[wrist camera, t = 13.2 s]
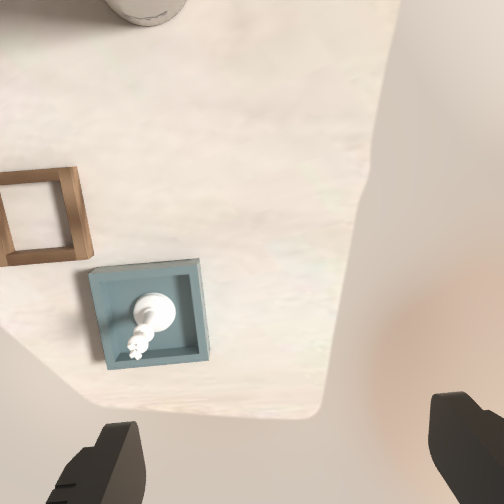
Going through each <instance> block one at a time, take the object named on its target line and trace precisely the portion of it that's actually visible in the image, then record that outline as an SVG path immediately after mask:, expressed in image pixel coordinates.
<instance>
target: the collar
mask: <svg viewBox="0 0 504 504" xmlns="http://www.w3.org/2000/svg"><path fill="white" fill-rule="evenodd" d="M58 180H60V183H61V188H62V193H63V197H64V202H65V207H66V212H67V216H68V221H69V226H70V230H71V235H72V240H73V245H74V246H70V247H58V248H46V249H35V250H23V251H15V249H14V245H13V241H12V237H11V233H10V229H9V226H8V222H7V218H6V214H5V210H4V206H3V202H2V198H1V194H0V267H5V266H17V265H28V264H40V263H51V262H63V261H75V260H86V259H89V258H91V257H92V256H94V251H93V246H92V241H91V236H90V231H89V226H88V221H87V216H86V211H85V206H84V201H83V196H82V191H81V185H80V180H79V175H78V170H77V167H65V168H52V169H39V170H27V171H14V172H2V173H0V185H8V184H20V183H33V182H45V181H58Z"/></svg>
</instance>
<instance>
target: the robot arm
mask: <svg viewBox="0 0 504 504" xmlns="http://www.w3.org/2000/svg"><path fill="white" fill-rule="evenodd" d="M105 1H106V2H107V3H108V5H109V6H110V7H111V8H112V10H113V11H114V12H116V13H117V14H118V15H119V16H120V17H122V18H123V19H125V20H127V21H129V22H131V23H134V24H138V25H141V26H154V25H159V24H162V23H164V22H166V21H169V20H170V19H171V18H173V17H174V16H175V15H177V14H178V12H179V11H180V10H181V9H182V7H183V6H184V4H185V2H186V0H105ZM428 445H429V449H430V454H431V457H432V460H433V462H434V464H435V466H436V467H437V469H438V471H439V472H440V474H441V475H442V477H443V478H444V480H445V481H446V483H447V484H448V486H449V488H450V489H451V490H452V492H453V494H454V495H455V497H456V498H457V500H458V501H459V503H460V504H504V418H502V417H500V416H499V415H497V414H495V413H494V412H492V411H490V410H482V409H481V408H480V407H479V405H478V404H477V403H476V402H475V401H474V400H473V399H472V398H471V397H470V396H469V395H468V394H466V393H465V392H451V393H440V394H434V395H433V396H432V399H431V407H430V422H429V435H428ZM145 484H146V468H145V462H144V456H143V451H142V446H141V440H140V435H139V430H138V425H137V423H136V422H135V421H132V422H121V423H111V424H106V425H105V426H104V427H103V429H102V431H101V433H100V435H99V437H98V439H97V442H96V444H95V446H94V447H85V448H83V449H82V450H81V451H80V452H79V453H78V454H77V455H76V456H75V457H74V458H73V459H72V460H71V461H70V462H69V463H68V464H67V465H66V466H65V468H64V470H63V472H62V474H61V476H60V477H59V480H58V481H57V483H56V485H55V489H54V490H52V492H51V494H50V496H49V498H48V500H47V502H46V504H142V500H143V496H144V491H145Z"/></svg>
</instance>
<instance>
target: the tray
mask: <svg viewBox="0 0 504 504" xmlns="http://www.w3.org/2000/svg"><path fill="white" fill-rule="evenodd" d="M88 277H89V282H90V287H91V291H92V296H93V301H94V306H95V311H96V316H97V321H98V325H99V330H100V335H101V340H102V345H103V350H104V355H105V359H106V364H107V369H108V370H114V369H125V368H135V367H146V366H157V365H167V364H178V363H188V362H199V361H209V355H210V344H209V336H208V327H207V319H206V310H205V302H204V294H203V285H202V277H201V269H200V260H199V259H187V260H176V261H164V262H153V263H141V264H130V265H118V266H107V267H97V268H95V269H94V270H93V271H92V272H90V273H89V274H88ZM153 292H155V293H161V294H163V295H165V296H167V297H168V298H169V299H170V300H171V301H172V302H173V304H174V306H175V310H176V315H175V319H174V321H173V322H172V324H171V325H170V326H169V327H168V328H167V329H165V330H163V331H160V332H154V337H153V339H152V340H151V341H149V342H148V348H147V350H146V351H145V352H144V353H141V355H142V357H141V358H140V359H138V360H137V359H136V358H135V357H134V358H132V359H131V357H130V356H129V354H130V352H131V351H130V350H129V348H128V347H127V346H128V340H129V339H130V338H131V337H132V336H134V335H133V331H134V329H135V327H136V326H138V324H137V323H136V321H135V319H134V315H133V311H134V306H135V304H136V302H137V300H138V299H139V298H140V297H141V296H143V295H145V294H147V293H153Z"/></svg>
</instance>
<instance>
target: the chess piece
mask: <svg viewBox="0 0 504 504" xmlns="http://www.w3.org/2000/svg"><path fill="white" fill-rule="evenodd" d="M133 315H134V319H135V321H136V323H137V324H138V326H136V327H135V329H134V331H133V335H134V336H132V337H131V338H130V339H129V340H128V346H127V347H128V348H129V350H130V351H131V352H130V354H129V356H130V357H131V359H132V358H134V357H135V358H136V359H137V360H138V359H140V358H141V357H142V355H141V353H144V352H145V351H146V350H147V348H148V342H149V341H151V340H152V339H153V337H154V332H160V331H163V330H165V329H167V328H168V327H169V326H170V325H171V324H172V322H173V321H174V319H175V315H176V310H175V306H174V304H173V302H172V301H171V300H170V299H169V298H168V297H167V296H165V295H163V294H161V293H155V292H153V293H147V294H145V295H143V296H141V297H140V298H139V299H138V300H137V302H136V304H135V306H134V311H133Z"/></svg>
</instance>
